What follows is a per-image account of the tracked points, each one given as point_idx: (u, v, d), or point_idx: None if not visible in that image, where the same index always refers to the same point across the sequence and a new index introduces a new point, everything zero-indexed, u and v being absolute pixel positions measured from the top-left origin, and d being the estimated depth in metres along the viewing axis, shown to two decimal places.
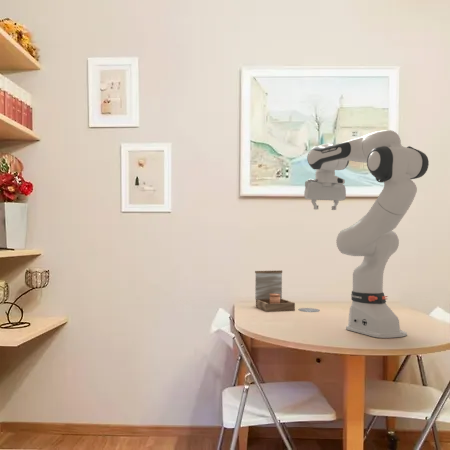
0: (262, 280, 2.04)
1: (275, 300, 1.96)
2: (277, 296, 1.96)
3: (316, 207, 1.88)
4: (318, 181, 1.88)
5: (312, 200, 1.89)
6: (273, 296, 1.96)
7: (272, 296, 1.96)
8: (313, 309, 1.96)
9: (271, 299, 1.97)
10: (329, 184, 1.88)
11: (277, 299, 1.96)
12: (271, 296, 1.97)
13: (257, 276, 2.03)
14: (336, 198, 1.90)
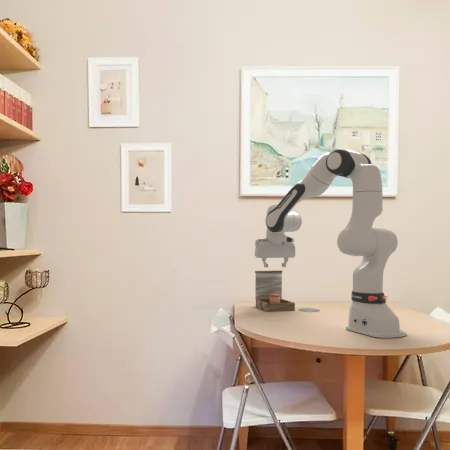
0: (262, 280, 2.04)
1: (275, 300, 1.96)
2: (277, 296, 1.96)
3: (266, 265, 1.96)
4: (268, 240, 1.97)
5: (262, 259, 1.97)
6: (273, 296, 1.96)
7: (272, 296, 1.96)
8: (313, 309, 1.96)
9: (271, 299, 1.97)
10: (278, 243, 1.96)
11: (277, 299, 1.96)
12: (271, 296, 1.97)
13: (257, 276, 2.03)
14: (286, 256, 1.99)
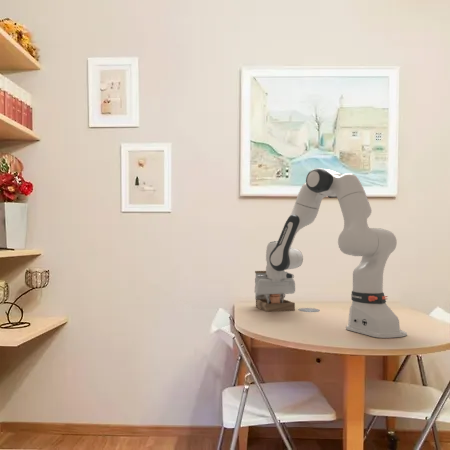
0: None
1: (275, 300, 1.96)
2: (277, 296, 1.96)
3: (268, 302, 1.96)
4: (268, 277, 1.96)
5: (265, 295, 1.97)
6: (273, 296, 1.96)
7: (272, 296, 1.96)
8: (313, 309, 1.96)
9: (271, 299, 1.97)
10: (278, 280, 1.96)
11: (277, 299, 1.96)
12: (271, 296, 1.97)
13: None
14: (285, 292, 1.98)
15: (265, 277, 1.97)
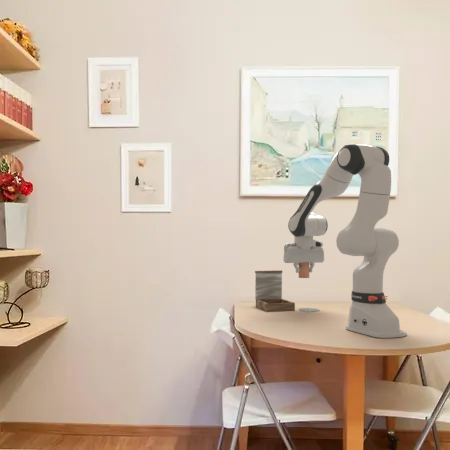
0: (262, 280, 2.04)
1: (304, 268, 1.93)
2: (306, 264, 1.93)
3: (298, 270, 1.93)
4: (297, 245, 1.94)
5: (294, 264, 1.94)
6: (302, 264, 1.93)
7: (301, 265, 1.94)
8: (313, 309, 1.96)
9: (300, 268, 1.94)
10: (307, 248, 1.93)
11: (306, 267, 1.93)
12: (300, 265, 1.94)
13: (257, 276, 2.03)
14: (315, 261, 1.96)
15: (294, 245, 1.94)
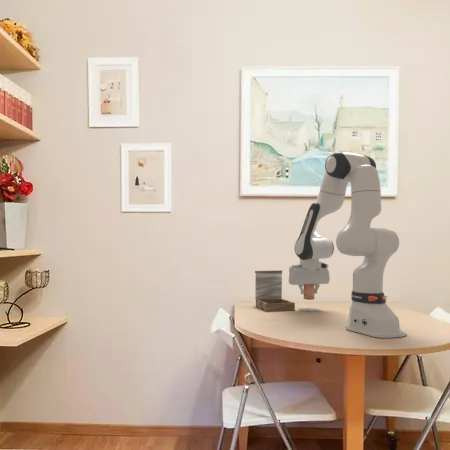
0: (262, 280, 2.04)
1: (310, 290, 1.93)
2: (312, 286, 1.93)
3: (303, 292, 1.93)
4: (302, 267, 1.93)
5: (299, 285, 1.94)
6: (307, 286, 1.93)
7: (306, 286, 1.93)
8: (313, 309, 1.96)
9: (305, 289, 1.94)
10: (313, 270, 1.93)
11: (312, 289, 1.93)
12: (305, 286, 1.94)
13: (257, 276, 2.03)
14: (320, 282, 1.95)
15: (299, 267, 1.93)
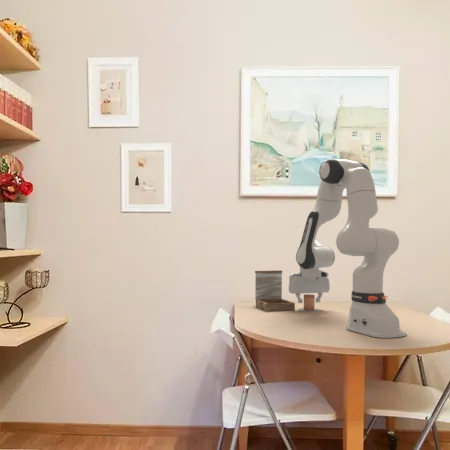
0: (262, 280, 2.04)
1: (310, 301, 1.93)
2: (312, 297, 1.93)
3: (300, 301, 1.93)
4: (302, 275, 1.93)
5: (296, 294, 1.93)
6: (308, 297, 1.93)
7: (307, 297, 1.93)
8: None
9: (305, 300, 1.93)
10: (313, 279, 1.92)
11: (312, 300, 1.93)
12: (305, 297, 1.93)
13: (257, 276, 2.03)
14: (320, 291, 1.95)
15: (299, 276, 1.93)
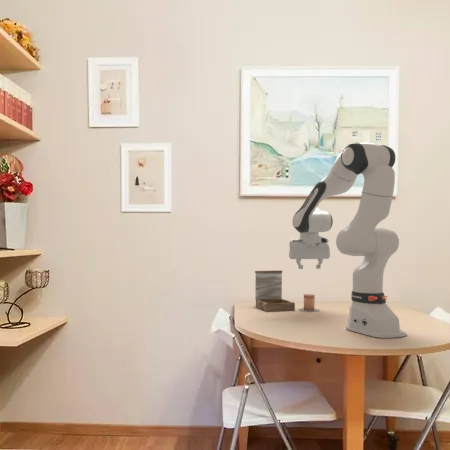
0: (262, 280, 2.04)
1: (310, 301, 1.93)
2: (312, 297, 1.93)
3: (301, 267, 1.93)
4: (302, 241, 1.93)
5: (297, 260, 1.93)
6: (308, 297, 1.93)
7: (307, 297, 1.93)
8: None
9: (305, 300, 1.93)
10: (313, 244, 1.93)
11: (312, 300, 1.93)
12: (305, 297, 1.93)
13: (257, 276, 2.03)
14: (320, 257, 1.95)
15: (300, 242, 1.94)
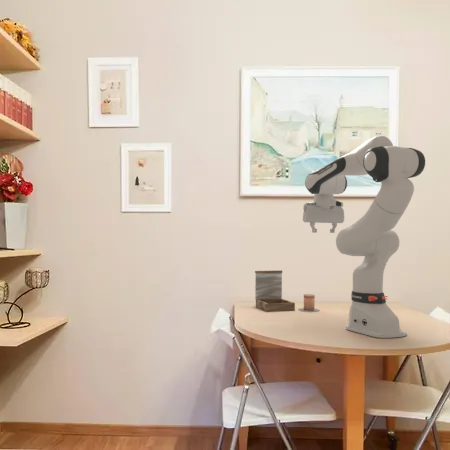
0: (262, 280, 2.04)
1: (310, 301, 1.93)
2: (312, 297, 1.93)
3: (314, 230, 1.89)
4: (316, 204, 1.89)
5: (311, 223, 1.89)
6: (308, 297, 1.93)
7: (307, 297, 1.93)
8: None
9: (305, 300, 1.93)
10: (327, 207, 1.89)
11: (312, 300, 1.93)
12: (305, 297, 1.93)
13: (257, 276, 2.03)
14: (334, 221, 1.91)
15: (314, 205, 1.90)
